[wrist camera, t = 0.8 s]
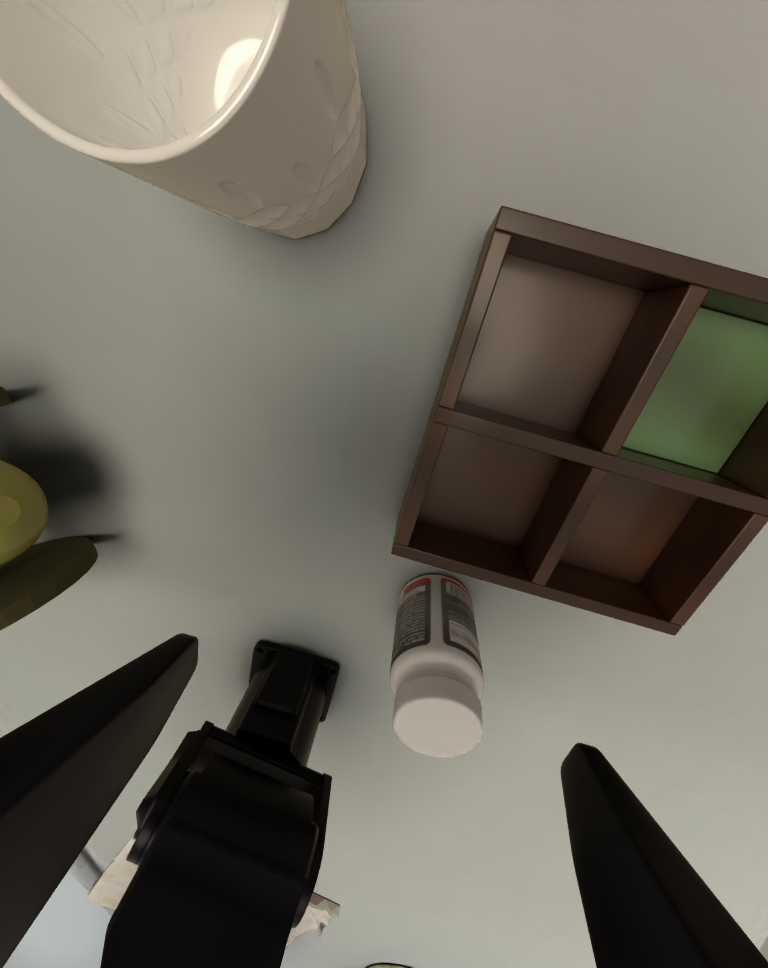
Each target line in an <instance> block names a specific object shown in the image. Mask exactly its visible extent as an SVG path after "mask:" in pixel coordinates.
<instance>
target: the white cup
mask: <svg viewBox="0 0 768 968" xmlns="http://www.w3.org/2000/svg"><path fill="white" fill-rule="evenodd" d="M0 95H1V96H2V97H3V98H4V99H5V100H6V101H7V102H8V103H9V104H10V105H11V106H12V107H14V108H15V109H16V110H17V111H18V112H19V113H20V114H21V115H23V116H24V117H25V118H26V119H27V120H29V121H30V122H31V123H32V124H34V125H35V126H36V127H38V128H39V129H40V130H42V131H43V132H45V133H46V134H47V135H49V136H51V137H52V138H54V139H55V140H57V141H59V142H60V143H62V144H64V145H66V146H68V147H70V148H72V149H74V150H76V151H78V152H81V153H83V154H85V155H87V156H90V157H92V158H94V159H96V160H99V161H101V162H103V163H105V164H108V165H110V166H112V167H114V168H117V169H119V170H121V171H123V172H126V173H128V174H130V175H132V176H135V177H137V178H139V179H141V180H143V181H146V182H148V183H150V184H152V185H154V186H157V187H159V188H161V189H163V190H165V191H168V192H170V193H172V194H174V195H176V196H178V197H181V198H183V199H185V200H187V201H189V202H192V203H194V204H196V205H198V206H200V207H203V208H205V209H207V210H210V211H212V212H214V213H217V214H220V215H222V216H225V217H228V218H230V219H233V220H235V221H237V222H240V223H243V224H245V225H248V226H251V227H256V228H258V229H260V230H262V231H265V232H269V233H273V234H277V235H281V236H284V237H288V238H292V239H298V238H302V237H305V236H308V235H311V234H315V233H318V232H321V231H324V230H327V229H328V228H329V227H330V226H331V225H332V224H333V223H334V222H335V221H336V220H337V218H338V217H339V216H340V215H341V214H342V213H343V212H344V211H345V210H346V209H347V208H348V207H349V206H350V205H351V204H352V202H353V199H354V196H355V194H356V191H357V188H358V185H359V182H360V180H361V177H362V174H363V171H364V168H365V166H366V162H367V160H366V112H365V108H364V103H363V99H362V95H361V91H360V81H359V73H358V66H357V60H356V53H355V48H354V44H353V39H352V34H351V28H350V22H349V16H348V10H347V5H346V0H0Z"/></svg>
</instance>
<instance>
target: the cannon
mask: <svg viewBox="0 0 768 968" xmlns="http://www.w3.org/2000/svg"><path fill="white" fill-rule="evenodd" d="M11 403H12V402H11V400H10V398H9V397H8V395H7V393H6V391H5V390H4V388H2V387H0V407H1V406H5V405H8V404H11ZM47 518H48V505H47V500H46V497H45V495H44V493H43V490H42V489H41V488H40V486H39V485H38V484H37V482H36V481H35V480H34V479H33V478H32V477H31V476H29V475H28V474H27V473H26V472H25V471H23V470H21V469H20V468H18V467H17V466H15V465H13V464H10V463H8V462H5V461H3V460H0V630H2V629H4V628H6V627H7V626H9V625H11V624H13V623H15V622H16V621H18V620H20V619H21V618H23V617H25V616H26V615H28V614H30V613H32V612H33V611H35V610H37V609H38V608H40V607H41V606H43V605H44V604H46V603H47V602H49V601H50V600H52V599H53V598H55V597H56V596H58V595H59V594H61V593H62V592H63V591H65V590H66V589H67V588H69V587H70V586H71V585H73V584H74V583H75V582H77V581H78V580H79V579H80V578H81V577H82V576H83V575H84V574H85V573H87V572H88V571H89V569H90V568H91V567H92V566H93V564H94V563H95V562H96V560H97V557H98V553H97V550H96V548H95V546H94V545H93V543H92V541H91V540H90V539H88V538H86V537H68V538H62V539H57V540H52V541H48V542H44V543H40V544H36V545H33V544H34V543H35V542H36V540H37V539H38V538H39V536H40V535H41V533H42V531H43V529H44V527H45V525H46V521H47ZM32 545H33V546H32Z"/></svg>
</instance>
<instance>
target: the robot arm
mask: <svg viewBox="0 0 768 968" xmlns="http://www.w3.org/2000/svg"><path fill="white" fill-rule="evenodd" d="M197 661H198V639H197V637H195V636H191V635H187V634H183V633H181V634H178V635H176V636H174V637H172V638H170V639H169V640H167V641H165V642H164V643H162V644H160V645H159V646H157V647H155V648H153V649H152V650H150V651H148V652H147V653H145V654H143V655H141V656H140V657H138V658H136V659H135V660H133V661H131V662H129V663H128V664H126V665H124V666H123V667H121V668H119V669H118V670H116V671H114V672H112V673H111V674H109V675H107V676H106V677H104V678H102V679H100V680H99V681H97V682H95V683H94V684H92V685H90V686H89V687H87V688H85V689H83V690H82V691H80V692H78V693H77V694H75V695H73V696H71V697H70V698H68V699H66V700H65V701H63V702H61V703H59V704H58V705H56V706H54V707H53V708H51V709H49V710H48V711H46V712H44V713H42V714H41V715H39V716H37V717H36V718H34V719H32V720H30V721H29V722H27V723H25V724H24V725H22V726H20V727H18V728H17V729H15V730H13V731H12V732H10V733H8V734H7V735H5V736H3V737H1V738H0V968H3V966H4V965H5V963H6V962H7V960H8V959H9V957H10V956H11V954H12V953H13V951H14V950H15V948H16V947H17V945H18V944H19V942H20V941H21V939H22V938H23V937H24V935H25V934H26V932H27V931H28V929H29V928H30V926H31V925H32V923H33V921H34V920H35V919H36V917H37V916H38V914H39V913H40V911H41V910H42V909H43V907H44V905H45V904H46V903H47V901H48V900H49V898H50V897H51V895H52V893H53V892H54V891H55V889H56V888H57V886H58V885H59V883H60V882H61V880H62V879H63V878H64V876H65V875H66V873H67V872H68V870H69V869H70V867H71V866H72V864H73V863H74V861H75V860H76V858H77V857H78V855H79V854H80V852H81V851H82V850H83V848H84V847H85V845H86V844H87V842H88V841H89V839H90V838H91V836H92V835H93V833H94V832H95V830H96V829H97V827H98V826H99V824H100V823H101V821H102V820H103V819H104V817H105V816H106V814H107V813H108V811H109V810H110V808H111V807H112V805H113V804H114V802H115V801H116V799H117V798H118V796H119V795H120V793H121V792H122V791H123V789H124V788H125V786H126V785H127V783H128V782H129V780H130V779H131V777H132V776H133V774H134V773H135V771H136V770H137V768H138V767H139V765H140V764H141V762H142V761H143V760H144V758H145V757H146V755H147V754H148V752H149V750H150V749H151V747H152V746H153V744H154V743H155V741H156V739H157V738H158V736H159V734H160V732H161V731H162V729H163V727H164V725H165V723H166V722H167V720H168V718H169V716H170V714H171V713H172V711H173V709H174V707H175V705H176V704H177V702H178V700H179V698H180V696H181V695H182V693H183V691H184V689H185V687H186V686H187V684H188V682H189V680H190V678H191V677H192V675H193V673H194V671H195V669H196V666H197ZM339 670H340V666H339V664H337V663H335V662H332V661H329V660H325V659H322V658H319V657H315V656H312V655H308V654H305V653H302V652H298V651H295V650H291V649H288V648H285V647H281V646H278V645H274V644H271V643H268V642H264V641H259V642H257V644H256V646H255V647H254V652H253V659H252V666H251V673H250V680H249V686H248V688H247V690H246V692H245V694H244V696H243V698H242V700H241V702H240V704H239V706H238V708H237V709H236V711H235V713H234V715H233V717H232V719H231V721H230V723H229V725H228V727H227V729H226V731H225V730H222V729H220V728H218V727H216V726H213V725H214V724H213V723H211V722H209V721H207V720H206V722H205V723H204V725H203V726H202V728H201V730H198V731H192V732H188V733H187V735H186V736H185V738H184V739H183V741H182V743H181V744H180V746H179V748H178V749H177V751H176V753H175V754H174V756H173V757H172V759H171V760H170V762H169V763H168V765H167V766H166V768H165V769H164V771H163V772H162V773H161V775H160V776H159V778H158V779H157V781H156V782H155V783H154V785H153V786H152V788H151V789H150V790H149V792H148V793H147V795H146V796H145V798H144V799H143V801H142V802H141V804H140V806H139V807H138V809H137V811H136V817H137V827H138V829H137V831H136V833H135V835H134V837H133V839H135V842H134V844H133V846H132V848H131V850H130V852H129V854H128V856H127V858H126V861H129V862H131V863H134V864H136V865H138V866H139V867H138V869H137V871H136V873H135V875H134V876H133V878H132V880H131V882H130V884H129V886H128V887H127V889H126V891H125V893H124V895H123V897H122V899H121V900H120V902H119V904H118V906H117V908H116V910H115V912H114V913H113V915H112V917H111V919H110V922H109V924H108V927H107V931H106V936H105V942H104V948H103V954H102V961H101V967H100V968H280V966H281V962H282V959H283V955H284V951H285V947H286V944H287V941H288V938H289V935H290V932H291V928H296V927H297V926H298V924H299V923H300V921H301V920H302V918H303V916H304V914H305V911H306V909H307V907H308V905H309V902H310V899H311V896H312V894H313V891H314V887H315V884H316V881H317V877H318V873H319V870H320V865H321V861H322V856H323V849H324V842H325V833H326V824H327V816H328V807H329V798H330V790H331V781H332V776H330V775H327V774H325V773H324V774H321V773H319V772H316V771H314V770H312V769H310V768H307V767H306V765H307V762H308V758H309V755H310V751H311V748H312V744H313V741H314V738H315V734H316V731H317V727H318V724H319V722H323V721H325V718H326V715H327V712H328V708H329V705H330V701H331V698H332V694H333V691H334V688H335V684H336V681H337V677H338V674H339ZM561 780H562V787H563V794H564V801H565V808H566V815H567V823H568V830H569V837H570V844H571V850H572V856H573V862H574V867H575V872H576V877H577V881H578V886H579V890H580V895H581V899H582V904H583V908H584V913H585V917H586V922H587V926H588V931H589V935H590V940H591V944H592V949H593V953H594V958H595V962H596V967H597V968H768V962H767V961H766V959H765V958H764V957H763V955H762V954H761V953H760V952H759V950H758V949H757V948H756V947H755V945H754V944H753V943H752V941H751V940H750V939H749V938H748V936H747V935H746V934H745V933H744V931H743V930H742V929H741V928H740V926H739V925H738V924H737V923H736V921H735V920H734V919H733V918H732V916H731V915H730V914H729V913H728V911H727V910H726V909H725V908H724V906H723V905H722V904H721V903H720V901H719V900H718V899H717V898H716V896H715V895H714V894H713V892H712V891H711V890H710V889H709V887H708V886H707V885H706V884H705V882H704V881H703V880H702V879H701V877H700V876H699V875H698V874H697V872H696V871H695V870H694V869H693V867H692V866H691V865H690V864H689V862H688V861H687V860H686V859H685V857H684V856H683V855H682V854H681V852H680V851H679V850H678V849H677V847H676V846H675V845H674V843H673V842H672V841H671V840H670V838H669V837H668V836H667V835H666V833H665V832H664V831H663V830H662V828H661V827H660V826H659V825H658V823H657V822H656V821H655V820H654V818H653V817H652V816H651V815H650V813H649V812H648V811H647V810H646V808H645V807H644V806H643V805H642V803H641V802H640V801H639V800H638V798H637V797H636V796H635V794H634V793H633V792H632V791H631V789H630V788H629V787H628V786H627V784H626V783H625V782H624V781H623V779H622V778H621V777H620V776H619V774H618V773H617V772H616V771H615V769H614V768H613V767H612V766H611V764H610V763H609V762H608V761H607V759H606V758H605V757H604V756H603V754H602V753H601V752H600V751H599V750H598V749H597V748H595V747H593V746H590V745H586V744H583V743H577V744H575V745H574V747H573V748H572V750H571V751H570V752H569V754H568V755H567V757H566V758H565V759H564V761H563V763H562V766H561Z"/></svg>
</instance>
